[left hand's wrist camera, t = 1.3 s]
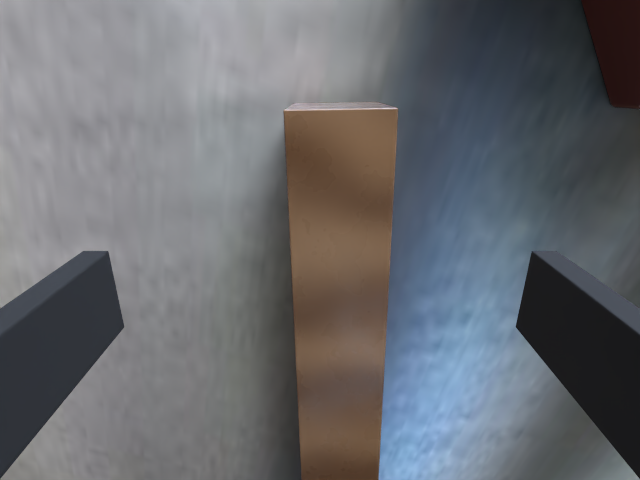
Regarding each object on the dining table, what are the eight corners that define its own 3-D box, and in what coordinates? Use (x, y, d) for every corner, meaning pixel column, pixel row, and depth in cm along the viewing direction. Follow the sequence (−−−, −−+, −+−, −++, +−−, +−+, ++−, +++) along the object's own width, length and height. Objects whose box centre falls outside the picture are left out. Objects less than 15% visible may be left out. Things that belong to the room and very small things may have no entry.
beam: (292, 103, 26) (283, 109, 19) (377, 101, 26) (398, 107, 19) (311, 574, 44) (310, 663, 38) (361, 574, 44) (368, 662, 38)
